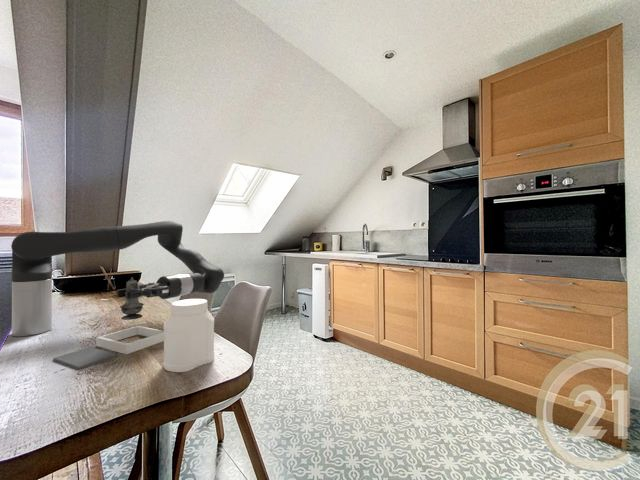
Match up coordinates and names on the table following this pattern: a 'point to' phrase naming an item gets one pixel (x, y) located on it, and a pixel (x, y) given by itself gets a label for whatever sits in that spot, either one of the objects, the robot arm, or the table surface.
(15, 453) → the table surface
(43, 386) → the table surface
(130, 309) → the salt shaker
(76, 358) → the rubber mat
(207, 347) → the jar
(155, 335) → the frame
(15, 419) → the table surface
